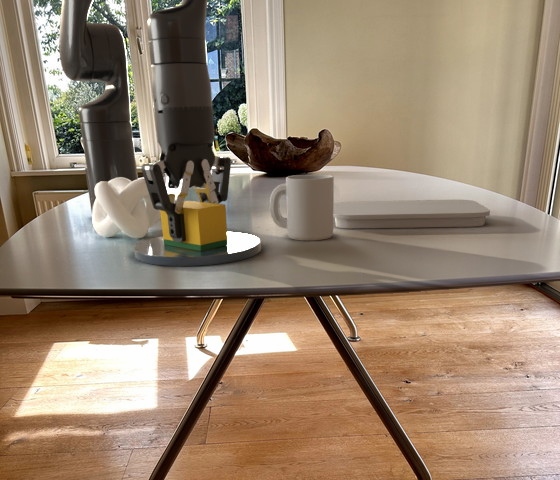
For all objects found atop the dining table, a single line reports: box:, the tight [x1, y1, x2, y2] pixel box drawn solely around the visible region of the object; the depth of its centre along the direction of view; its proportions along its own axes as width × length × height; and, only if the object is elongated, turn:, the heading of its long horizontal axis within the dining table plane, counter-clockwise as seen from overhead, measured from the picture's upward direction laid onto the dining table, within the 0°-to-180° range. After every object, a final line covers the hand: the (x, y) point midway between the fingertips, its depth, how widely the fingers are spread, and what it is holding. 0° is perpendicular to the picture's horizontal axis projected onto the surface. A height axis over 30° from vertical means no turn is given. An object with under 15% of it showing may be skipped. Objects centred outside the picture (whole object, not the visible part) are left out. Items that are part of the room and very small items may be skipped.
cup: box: [269, 174, 335, 241], centre depth 92 cm, size 7×10×9 cm
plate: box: [133, 231, 262, 267], centre depth 85 cm, size 18×18×1 cm
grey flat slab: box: [333, 199, 491, 229], centre depth 104 cm, size 16×26×2 cm, turn 86°
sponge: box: [160, 200, 228, 251], centre depth 83 cm, size 8×5×6 cm, turn 48°
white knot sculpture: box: [91, 177, 161, 239], centre depth 96 cm, size 11×12×9 cm
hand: (194, 237), depth 83 cm, fingers closed on sponge, 5 cm apart
